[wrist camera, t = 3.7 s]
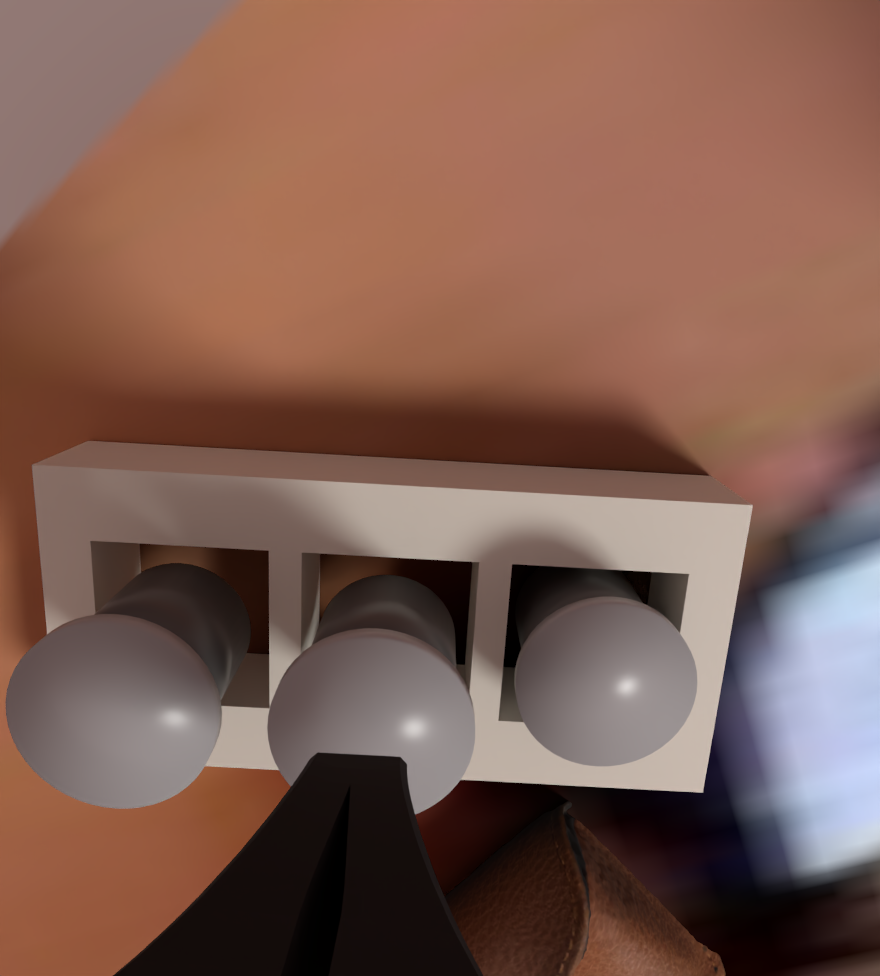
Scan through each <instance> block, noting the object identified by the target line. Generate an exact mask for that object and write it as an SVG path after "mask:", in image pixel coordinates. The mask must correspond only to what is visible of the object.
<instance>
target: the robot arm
mask: <svg viewBox="0 0 880 976" xmlns="http://www.w3.org/2000/svg"><path fill="white" fill-rule="evenodd" d="M113 976H483V974H482V972H481V970H480V968H479V966H478V964H477V963H476V961H475V959H474V957H473V955H472V953H471V951H470V950H469V948H468V946H467V944H466V942H465V940H464V938H463V936H462V934H461V932H460V930H459V928H458V926H457V923H456V921H455V919H454V917H453V915H452V913H451V911H450V908H449V906H448V904H447V901H446V899H445V897H444V895H443V892H442V890H441V888H440V885H439V883H438V880H437V878H436V875H435V873H434V870H433V868H432V865H431V862H430V859H429V856H428V853H427V851H426V848H425V845H424V842H423V839H422V836H421V833H420V830H419V827H418V824H417V820H416V816H415V813H414V809H413V805H412V801H411V796H410V791H409V785H408V777H407V764H406V762H405V761H404V760H403V759H402V758H401V757H396V756H377V755H358V754H339V753H320V752H318V753H316V754H315V755H314V756H313V757H311V758H310V759H309V761H308V762H307V764H306V766H305V767H304V769H303V770H302V772H301V773H300V775H299V776H298V778H297V779H296V781H295V782H294V783H293V785H292V786H291V788H290V789H289V790H288V792H287V793H286V794H285V796H284V797H283V798H282V800H281V801H280V802H279V804H278V805H277V806H276V808H275V809H274V810H273V812H272V813H271V814H270V815H269V817H268V818H267V819H266V820H265V822H264V823H263V824H262V825H261V826H260V828H259V829H258V830H257V831H256V833H255V834H254V835H253V836H252V838H251V839H250V840H249V841H248V842H247V844H246V845H245V846H244V847H243V848H242V850H241V851H240V852H239V853H238V854H237V855H236V857H235V858H234V859H233V860H232V861H231V862H230V863H229V864H228V865H227V866H226V867H225V869H224V870H223V871H222V872H221V873H220V874H219V875H218V876H217V877H216V878H215V879H214V881H213V882H212V883H211V884H210V885H209V886H208V887H207V888H206V889H205V890H204V891H203V893H202V894H201V895H200V896H199V897H198V898H197V899H196V900H195V901H194V902H193V903H192V904H191V905H190V906H189V907H188V908H187V909H186V910H185V911H184V912H183V913H182V914H181V915H180V916H179V917H178V918H177V919H176V920H175V921H174V922H173V923H172V924H171V925H170V926H168V927H167V928H166V929H165V930H164V931H163V932H162V933H161V934H160V935H159V936H158V937H157V938H156V939H154V940H153V941H152V942H151V943H150V944H149V945H148V946H147V947H146V948H145V949H144V950H143V951H141V952H140V953H139V954H138V955H137V956H136V957H135V958H133V959H132V960H131V961H130V962H129V963H128V964H126V965H125V966H124V967H123V968H122V969H120V970H119V971H118V972H117V973H116V974H115V975H113Z"/></svg>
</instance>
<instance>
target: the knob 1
mask: <svg viewBox="0 0 880 976" xmlns="http://www.w3.org/2000/svg"><path fill="white" fill-rule="evenodd" d="M250 639H251V625H250V619H249V615H248V612H247V609H246V607H245V605H244V603H243V601H242V599H241V598H240V596H239V595H238V594H237V592H236V591H235V590H234V589H233V588H232V587H231V586H230V585H229V584H228V583H227V582H226V581H225V580H224V579H222V578H221V577H219V576H218V575H216V574H215V573H213V572H211V571H209V570H206V569H204V568H201V567H198V566H194V565H190V564H182V563H170V564H162V565H159V566H155V567H152V568H150V569H147V570H145V571H143V572H142V573H140V574H138V575H137V576H136V577H134V578H133V579H132V580H131V581H130V582H129V583H128V584H127V585H125V586H124V587H123V588H122V589H121V590H120V591H119V592H118V593H117V594H116V595H115V596H114V597H112V598H111V599H110V600H109V601H108V602H107V603H106V604H105V605H104V606H103V607H102V608H101V609H100V610H98V611H97V612H96V613H95V614H94V615H90V616H85V617H81V618H77V619H74V620H72V621H69V622H67V623H64V624H62V625H61V626H59V627H57V628H55V629H54V630H52V631H51V632H50V633H48V634H47V635H46V636H45V637H43V638H42V639H41V640H40V641H39V642H38V643H36V644H35V645H34V646H33V647H32V648H31V649H30V650H29V651H28V652H27V653H26V654H25V655H24V656H23V657H22V659H21V660H20V662H19V663H18V665H17V666H16V668H15V670H14V672H13V674H12V676H11V678H10V682H9V685H8V689H7V695H6V716H7V722H8V727H9V730H10V733H11V736H12V738H13V740H14V743H15V745H16V747H17V749H18V750H19V752H20V753H21V755H22V756H23V758H24V760H25V761H26V762H27V763H28V764H29V766H30V767H31V768H32V769H33V770H34V771H35V772H36V773H37V774H38V775H39V776H40V777H41V778H42V779H43V780H45V781H46V782H47V783H49V784H50V785H51V786H53V787H54V788H56V789H57V790H59V791H61V792H62V793H64V794H66V795H68V796H70V797H72V798H75V799H77V800H80V801H83V802H86V803H89V804H92V805H97V806H101V807H108V808H138V807H145V806H149V805H153V804H156V803H159V802H162V801H164V800H167V799H169V798H171V797H173V796H174V795H176V794H178V793H179V792H181V791H182V790H184V789H185V788H186V787H188V786H189V785H190V784H191V783H192V782H193V781H194V780H195V779H196V778H197V776H198V775H199V774H200V772H201V771H202V770H203V768H204V766H205V764H206V763H207V761H208V759H209V757H210V755H211V753H212V751H213V749H214V747H215V745H216V742H217V739H218V737H219V733H220V728H221V721H222V708H221V699H222V698H223V696H224V694H225V692H226V690H227V688H228V687H229V685H230V683H231V681H232V679H233V677H234V676H235V674H236V672H237V670H238V668H239V666H240V665H241V663H242V661H243V659H244V657H245V655H246V653H247V651H248V648H249V644H250Z"/></svg>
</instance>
